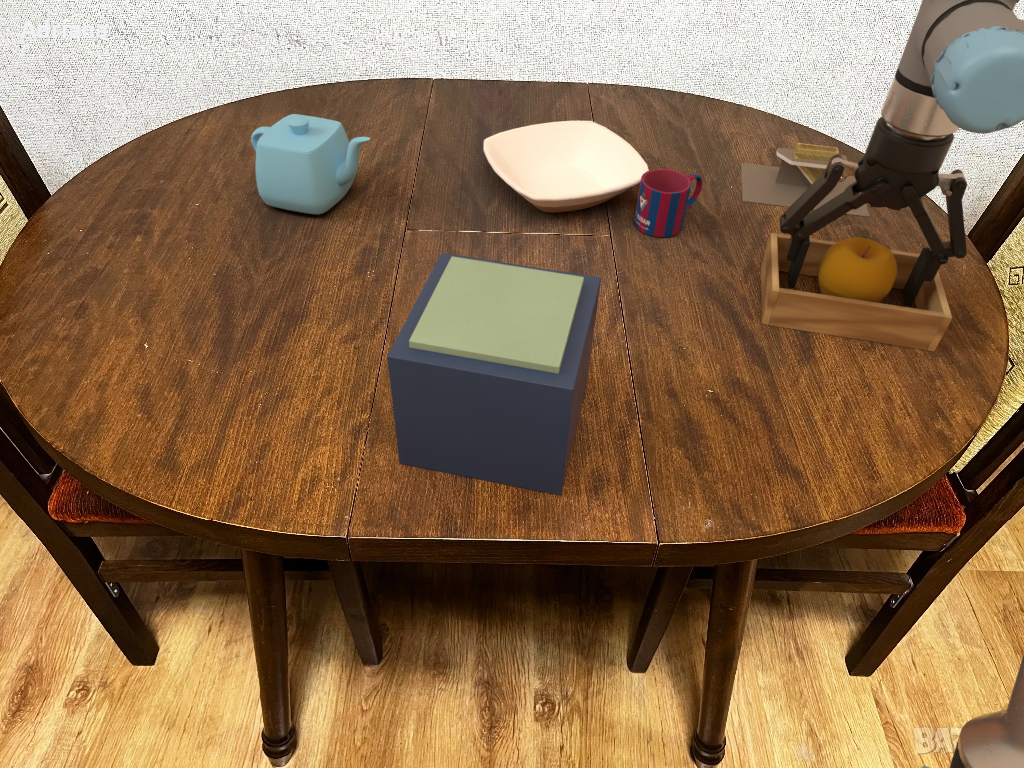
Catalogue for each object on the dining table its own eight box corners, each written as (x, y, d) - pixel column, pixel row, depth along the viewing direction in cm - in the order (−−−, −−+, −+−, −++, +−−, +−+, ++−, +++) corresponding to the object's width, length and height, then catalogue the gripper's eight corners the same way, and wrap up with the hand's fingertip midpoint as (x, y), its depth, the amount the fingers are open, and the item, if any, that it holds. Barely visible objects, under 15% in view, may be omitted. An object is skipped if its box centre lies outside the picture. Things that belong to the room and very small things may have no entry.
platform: (869, 216, 110) (886, 175, 105) (742, 200, 112) (753, 159, 107) (859, 176, 118) (874, 136, 113) (741, 162, 120) (751, 122, 116)
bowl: (592, 144, 123) (596, 113, 119) (663, 211, 109) (669, 178, 105) (467, 167, 117) (467, 135, 113) (525, 241, 102) (526, 207, 99)
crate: (561, 495, 72) (573, 389, 62) (399, 463, 74) (386, 356, 64) (587, 382, 83) (601, 277, 73) (445, 357, 85) (441, 252, 76)
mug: (625, 217, 108) (631, 173, 103) (684, 203, 111) (693, 160, 106) (650, 242, 103) (658, 197, 98) (711, 226, 106) (722, 182, 102)
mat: (558, 374, 63) (559, 367, 63) (409, 347, 65) (408, 340, 65) (583, 283, 73) (584, 276, 72) (451, 262, 74) (451, 256, 74)
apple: (810, 323, 92) (834, 261, 85) (802, 281, 98) (824, 221, 92) (884, 331, 91) (913, 270, 85) (871, 289, 97) (897, 229, 91)
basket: (934, 351, 88) (952, 318, 85) (761, 324, 91) (772, 290, 88) (917, 288, 97) (933, 255, 94) (760, 265, 100) (770, 232, 97)
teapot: (359, 232, 103) (349, 153, 95) (240, 208, 106) (221, 130, 98) (395, 188, 112) (388, 112, 104) (284, 167, 115) (270, 93, 107)
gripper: (1038, 123, 79) (950, 288, 94) (790, 94, 82) (743, 257, 97) (1058, 157, 74) (962, 326, 88) (793, 124, 77) (743, 292, 92)
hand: (847, 290), depth 93 cm, fingers open, 13 cm apart
